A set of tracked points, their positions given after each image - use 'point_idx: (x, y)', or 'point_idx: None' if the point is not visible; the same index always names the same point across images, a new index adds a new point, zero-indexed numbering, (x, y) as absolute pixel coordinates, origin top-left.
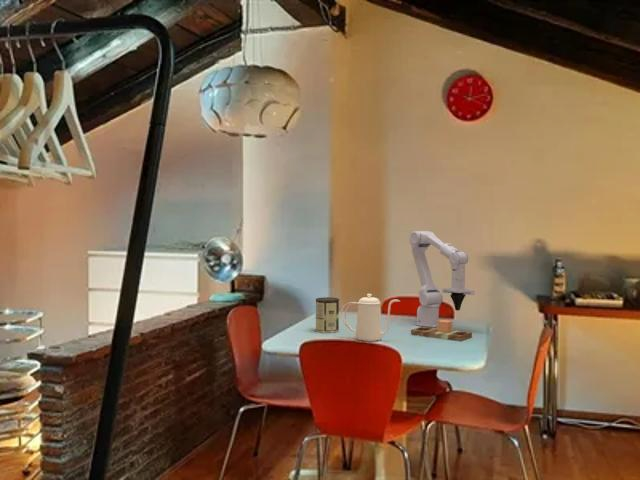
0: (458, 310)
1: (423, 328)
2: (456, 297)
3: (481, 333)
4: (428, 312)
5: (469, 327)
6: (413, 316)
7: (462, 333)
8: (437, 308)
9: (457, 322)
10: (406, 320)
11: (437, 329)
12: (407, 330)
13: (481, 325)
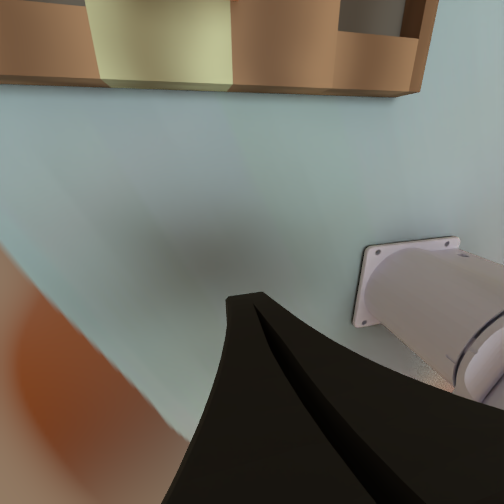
0: (226, 305)
1: (401, 39)
2: (323, 461)
3: (54, 284)
4: (475, 283)
5: None
6: None
7: (19, 5)
8: (450, 351)
9: None
10: None
11: (289, 20)
12: (478, 52)
13: None
